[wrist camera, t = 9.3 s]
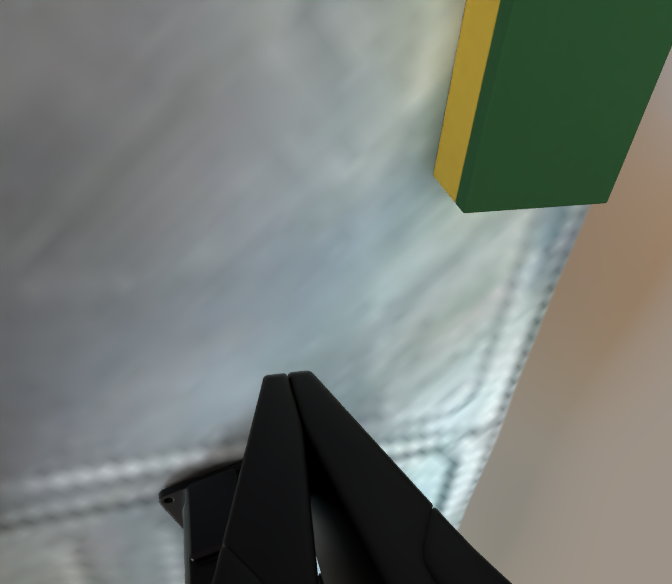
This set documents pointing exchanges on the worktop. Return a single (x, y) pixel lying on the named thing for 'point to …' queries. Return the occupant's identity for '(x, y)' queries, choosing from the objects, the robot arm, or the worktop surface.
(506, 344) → the worktop surface
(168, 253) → the worktop surface
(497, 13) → the sponge
